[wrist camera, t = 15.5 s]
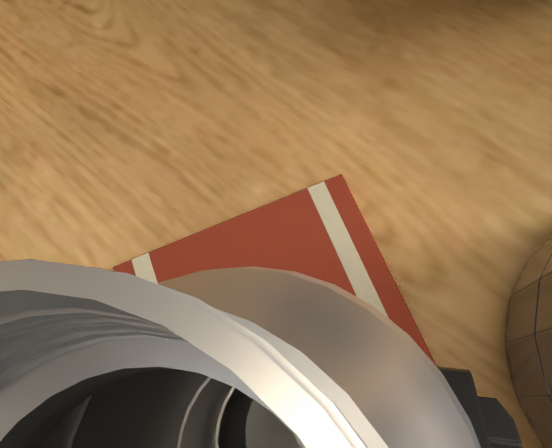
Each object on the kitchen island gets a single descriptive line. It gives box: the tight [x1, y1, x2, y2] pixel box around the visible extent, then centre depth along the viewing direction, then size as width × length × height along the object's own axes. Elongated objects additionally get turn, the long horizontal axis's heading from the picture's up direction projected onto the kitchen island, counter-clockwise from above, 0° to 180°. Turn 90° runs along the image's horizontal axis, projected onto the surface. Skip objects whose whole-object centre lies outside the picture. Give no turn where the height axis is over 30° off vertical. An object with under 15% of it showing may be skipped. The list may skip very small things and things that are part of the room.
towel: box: [113, 174, 437, 367], centre depth 20 cm, size 20×12×1 cm, turn 21°
